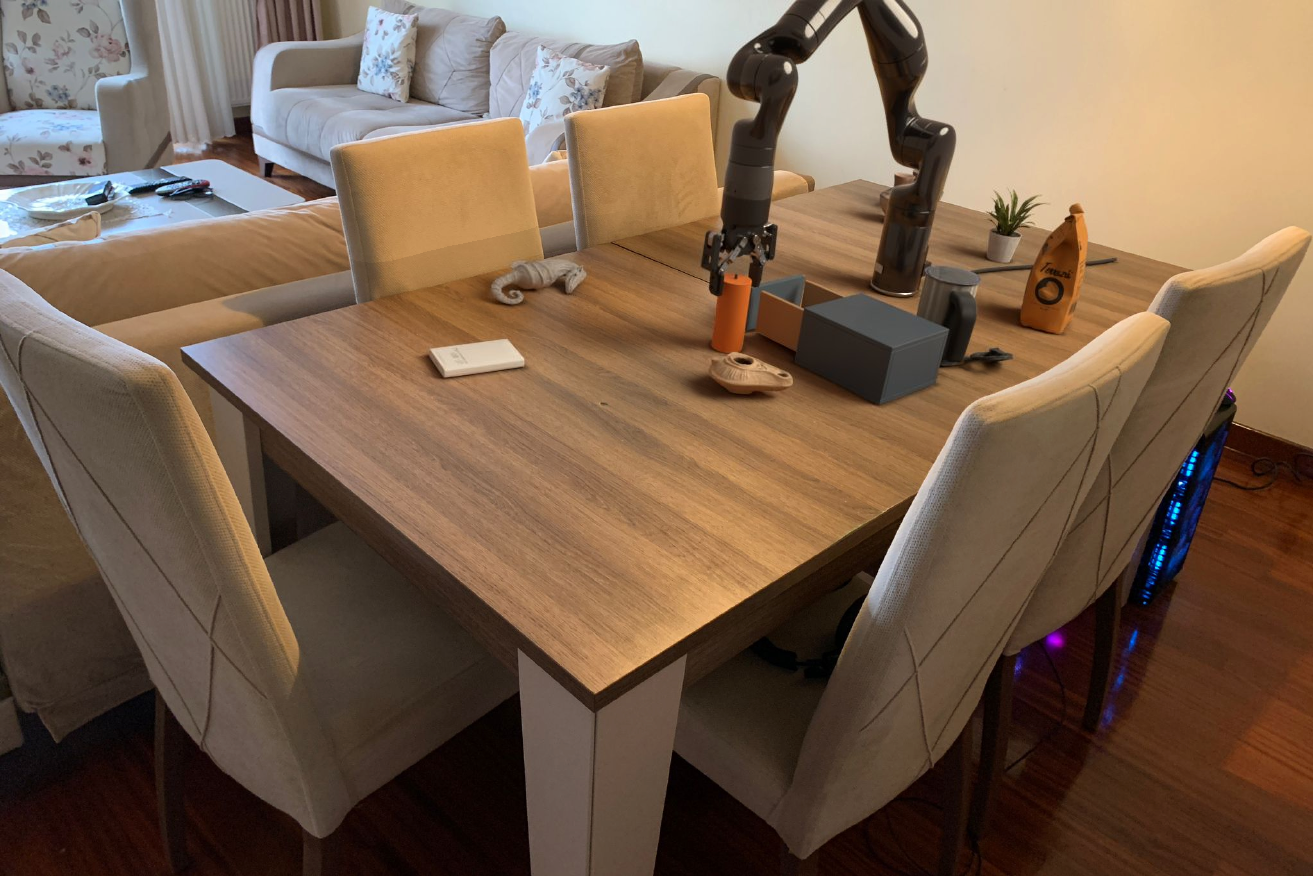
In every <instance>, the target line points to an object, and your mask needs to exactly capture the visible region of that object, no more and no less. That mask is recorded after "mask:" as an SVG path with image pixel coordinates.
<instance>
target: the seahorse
mask: <svg viewBox="0 0 1313 876" xmlns="http://www.w3.org/2000/svg"><path fill="white" fill-rule="evenodd" d="M509 268H510V269H512V270H513V271H510V272H508V273H507V274H502V275H501V276H499V277H497V278H496V279H495V280H493V282H491V286H490V290H489V292H490V294H491V296H493V297H494V300H497V301H498V302H501V303H503V304H506V305H512V306H513V305H518V304H520V303H521V302H523V300H524V294H522V292H521V291H520V290H514V289H511V290H510V291H509V292H508V296H509V297H507V295H505V293H503V291H502V289H503V288H505V287H506V286H509V285H516V286H518V287H519V288H521V289H523V290H531V289H532V290H533V289H534V290H537V291H539V290H542V289H544V288H547V287H549V286H551V285H552V284H553V283H555V282H556V280H557V279H560V278H563V277H564V286H565V293H566V294H572V293H573V292H574V290H575V288H576V287H577V286H578V285H580V284H581V283H582V282H583V281H584V279H585V278H587V276H588V274H587V272H586V271H585V269H584V264H581V265H578V264H577V263H576V262H573V261H572V260H567V259H563V258H554V257H553V258H547V259H541V260H532V261H526V260H517V261H514V262H512V263H511V264H509ZM515 297H517V298H515Z"/></svg>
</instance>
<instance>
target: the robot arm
mask: <svg viewBox="0 0 1313 876" xmlns="http://www.w3.org/2000/svg"><path fill="white" fill-rule="evenodd" d="M855 9H857V13H858V16H859V20H860V22H861V25H862V29H863V33H864V35H865V39H866V43H867V48H868V52H869V57H870V60H871V65H872V68H873V72H874V75H875V77H876V81H877V85H878V89H879V92H880V97H881V101H882V104H883V111H884V115H885V123H886V129H887V137H888V143H889V144H888V145H889V148H890V153H891V156H892V158H893V160H894V161H895V162H896V164H898V165H900V166H902V167H904V168H908V169H911V170H914V169H915V170H919V173H918V176H917V179H916V181H915V182H914V183H912V184H907V185H899V186H896V187H894V186H893V187H894V188H892V187H891V188H892V190H891V192H890V196H889V201H888V205H887V210H886V215H885V214H884V218H885V220H884V219H883V225H882V230H881V235H880V238H879V244H878V249H877V253H876V259H875V263H874V268H873V272H872V278H871V280H870V284H869V285H870V287H871V289H872V290H874V291H876V292H877V293H880V294H883V295H885V296H889V297H897V298H898V297H899V298H909V297H914V296H915V295H917V294H918V291H919V290H920V286H921V282H922V278H925V275H926V273H925V269H926V268H927V267H930V266H932V264H933V263H932V261H929V260H927V258H928V253H929V249H930V245H929V241H930V237H931V234H932V233H931V232H932V228H933V225H934V219H935V215H936V211H937V207H938V205H939V202H940V201H939V199H940V197H941V195H942V192H943V191H944V190H945V186H946V183H947V178H948V176H949V172H950V168H951V165H952V163H953V159H954V155H955V151H956V148H957V147H956V146H957V132H956V129H955V127H954V126H953V125H951V124H949V123H947V122H942V121H939V120H934V119H930V118H926V117H922V116H921V115H920V114H919V112H918V109H917V105H916V100H915V95H916V93H917V92H918V89H919V87H920V86H921V84H922V82H923V81H924V78H925V75H926V74H927V71H928V68H929V53H928V48H927V47H928V46H927V42H926V38H925V33H924V29H923V26H922V24H921V21H920V20H919V18H918V17H917V16H916V14H915V13H914V11H913V10H912V9H911V8H910V7H909V6H908V5H907V3H906V2H905V1H904V0H795V1H794V2H793V3H792V4H791V5H790V6H789V7H788V9H786V11H785V12H784V13H783V14H782V16H781V17H780V18H779V20H778V21H777V22H776V23H775V24H774V25H771V27H768V28H766V29H765V30H764V31H762V32H760V33H759V34H758V35H757V36H755V37H754V38H752V39H750V40H749V41H748V42H746V43H745V44H744V45H743V46H741V47H740V48H739V49H738V50H737V51H736V52H735V53H734V55H733V56H732V58H731V60H730V62H729V63H728V64H729V65H728V66H727V70H726V75H725V76H726V77H725V81H726V82H725V83H726V86H727V89H728V91H729V92H730V94H731V95H732V96H733V97H735V98H737V99H739V100H742V101H745V102H746V101H747V102H752V103H756V104H760V105H759V109H758V111H757V113H756V115H755V117H746V118H745V117H744V118H739V119H738V120H736V121H735V122H734V124H733V125H732V128H731V129H732V130H731V134H730V143H729V152H728V160H727V165H726V168H725V173H724V179H723V180H724V181H723V188H722V189H723V190H722V197H721V205H720V215H719V216H720V218H721V221H722V227H721V230H720V231H719V232H718V231H717V232H714V231H711V230H707V231H706V233H705V235H704V243H703V247H702V253H701V254H702V256H701V261H700V267H701V269H703V270H705V271H708V272H709V282H708V291H709V293H710V294H711V295H713V296H715V297H718V296H721V295H722V292H723V284H724V274H725V272H726V271H727V270H728V268H729V265H731V264H733V263H734V262H735V261H736V259H737V258H742V257H743V256H748V257H749V258H750V261H751V262H749V265H748V266H749V267H748V274H747V277H749V278H750V279H751V280H752V283H751V286H752V287H754V288H756V287H759V286H760V283H762V278H763V271H764V266H766V264H767V262H769V261H773V260H774V259H775V257H776V248H777V240H778V239H777V238H778V230H779V227H778V224H775V223H773V222H771V221H769V218H770V217H769V216H770V209H771V204H772V197H773V189H774V183H775V163H776V157H777V149H778V143H779V142H778V141H779V137H780V133H781V131H782V129H783V126H784V124H785V121H786V118H787V115H788V114H789V110H790V108H791V106H792V104H793V102H794V100H795V96H796V94H797V91H798V87H799V77H800V76H799V70H798V67H797V65H801V64H804V63H805V62H807V61H808V60H809V59H810V58H811V57H812V56H814V54H815V53H816V51H817V50H819V48H820V46H821V45H822V44H823V43H824V42H825V40H826V39H827V38H828V37H829V35H830V34H831V33H832V32H833V31H834V29H835V28H836V27H837V26H838V25H839V24H840V23H841V22H842V21H843V20H844V19H845V18H846V17H847V16H848V15H849V14H851V12H852V11H853V10H855ZM940 200H941V199H940ZM938 201H939V202H938ZM767 249H768V250H767ZM725 252H726V253H727V254H725ZM1116 261H1118V258H1117V257H1112V258H1106V259H1105V258H1104V259H1099V260H1089V261H1086V265H1085V266H1090V265H1099V264H1106V263H1111V262H1116ZM719 264H720V265H719ZM1033 265H1034V264H1023V265H1006V266H997V267H996V266H995V267H987V268H986V267H985V268H979V269H974V270H970V271H971V272H973V273H975V274H981V273H988V272H999V271H1011V270H1025V269H1032V267H1033Z"/></svg>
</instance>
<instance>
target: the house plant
mask: <svg viewBox="0 0 1313 876" xmlns="http://www.w3.org/2000/svg"><path fill="white" fill-rule="evenodd" d="M1006 189H1007V191H1008V193H1009V195H1010V200H1011V205H1009V203H1007V204H1006V205H1005V203H1004V202H1005V201H1004V200H1003V198H1002V196H1001V195H1000V194H999V193H998V192H997V191H996V190H994V189H992V190H993V192H994V194H995V196H996V197H997V198H996V199H994V198H992V197H991V200H992V201H993V202H994V212H993V211H985V213H987V214H989V215H990V216H991V217H992V218H993V219H995V220H996V221H997V224H996V223H995V221H994V220H993V219H992V218H985V219H984V221H989V222H992V223H993V225H995V227H994V228H993V227H992V228H990V229H989V234H988V244H987V253H986V259H988V260H990V261H993V262H996V263H1002V264H1003V263H1004V264H1006V263H1010V262H1011V260H1012V258H1013V256H1014V254H1015V252H1016V249H1017V247H1018V245H1019V243H1020V241H1021V239H1022V237H1023V235H1022V233H1021V232H1018V231H1017V230H1018V229H1020V228H1025V229H1029V230H1031V231H1033V229H1032V228H1031V227H1030V226H1028V225H1025V224H1031V225H1033V226H1036V223H1035V222H1033V221H1025V220H1027V219H1028V218H1030V217H1032V216H1033V215H1035V213H1029V212H1030V211H1032V209H1034V208H1036V207H1038V206H1041V205H1050V203H1049V202H1037V203H1034V202H1033V201H1034V200H1035V199H1037V198H1038V197H1041V196H1043V194H1036V195H1033V196H1031V197H1029V198H1027V199H1026V200H1025V201H1023V202H1022V204H1021V205H1020V208H1019V209H1018V210H1017V207H1018V202H1019V197H1018V194H1017V192H1016V191H1015V189H1012V192H1011V191H1010V189H1009V188H1008V187H1006ZM1032 204H1033V205H1032ZM1010 206H1011V208H1010ZM1028 213H1029V214H1028ZM1024 221H1025V222H1024ZM1023 222H1024V223H1023Z"/></svg>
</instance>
